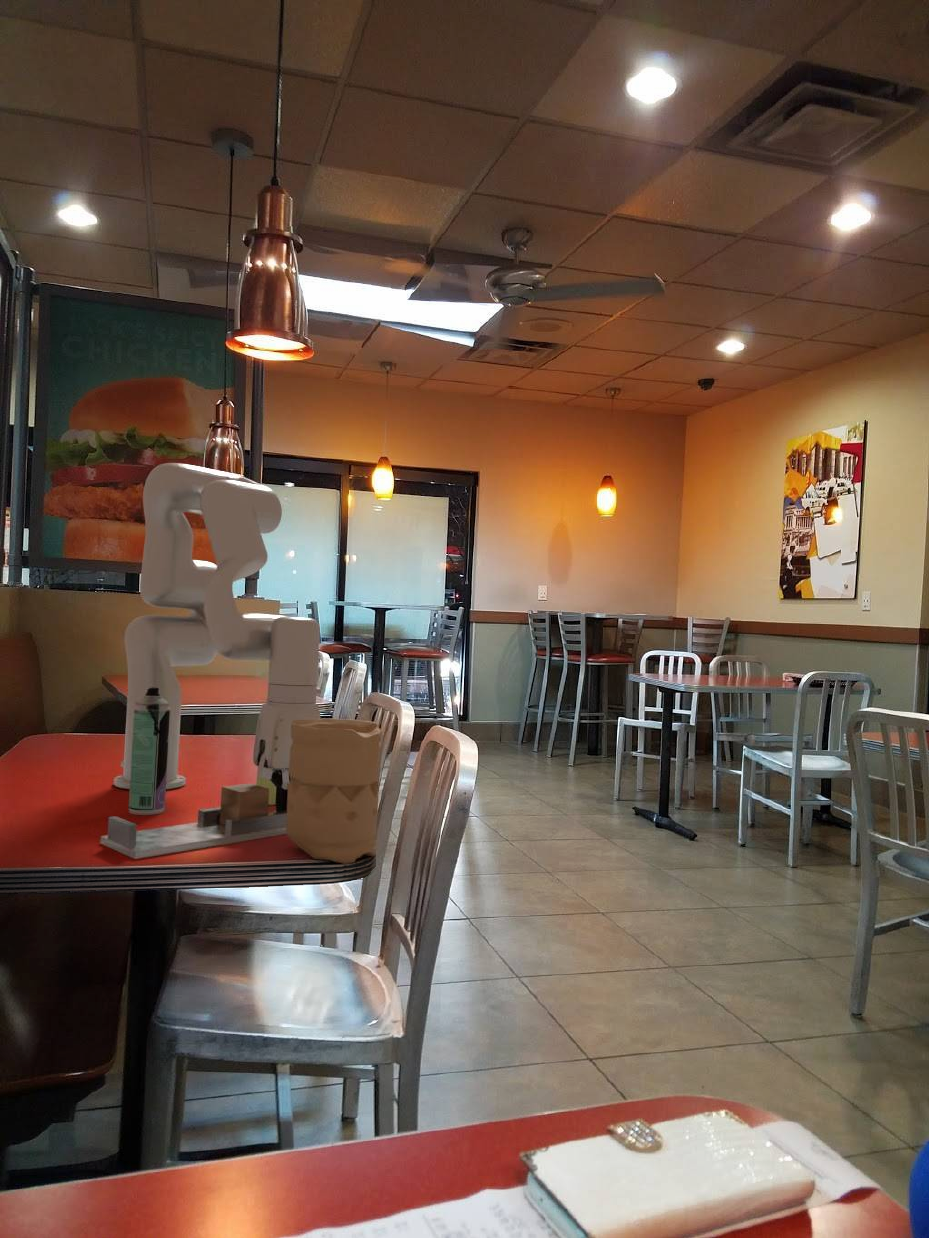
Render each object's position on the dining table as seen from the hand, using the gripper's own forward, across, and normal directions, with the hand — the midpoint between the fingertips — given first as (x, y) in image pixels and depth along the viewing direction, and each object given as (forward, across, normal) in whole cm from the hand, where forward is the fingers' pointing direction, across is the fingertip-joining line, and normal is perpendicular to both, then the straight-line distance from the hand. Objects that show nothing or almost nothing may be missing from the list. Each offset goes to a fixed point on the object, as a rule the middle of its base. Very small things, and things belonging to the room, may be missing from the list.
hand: (285, 812), depth 137 cm
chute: (+2, +15, 0) cm, 15 cm away
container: (+2, +5, +17) cm, 18 cm away
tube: (+2, -7, -15) cm, 17 cm away
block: (+1, +8, 0) cm, 8 cm away
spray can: (+2, +12, -20) cm, 24 cm away
